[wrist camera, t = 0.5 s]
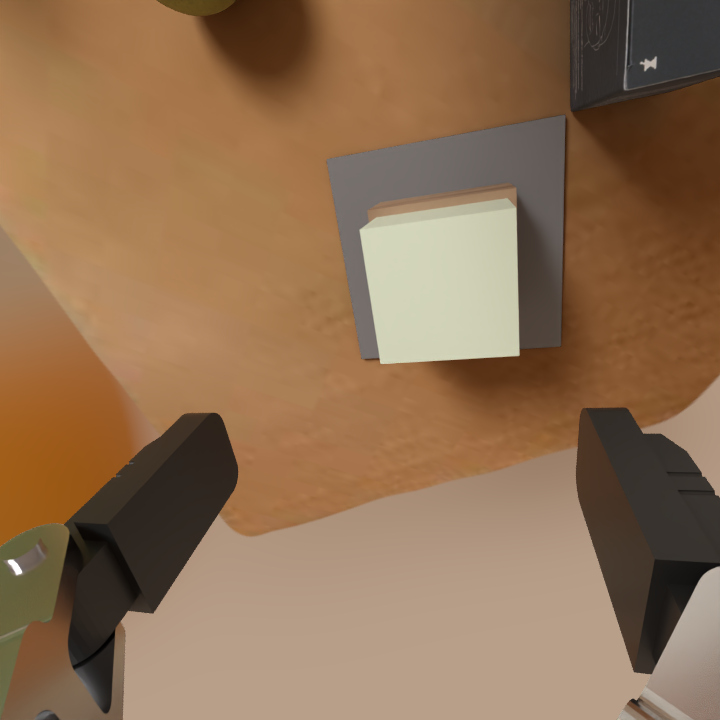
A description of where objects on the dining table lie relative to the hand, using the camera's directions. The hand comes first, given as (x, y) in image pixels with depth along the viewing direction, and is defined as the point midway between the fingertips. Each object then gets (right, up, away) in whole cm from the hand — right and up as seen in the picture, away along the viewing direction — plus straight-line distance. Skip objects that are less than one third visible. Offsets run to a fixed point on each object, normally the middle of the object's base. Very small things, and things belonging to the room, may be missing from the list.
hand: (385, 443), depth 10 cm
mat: (+6, +10, +24) cm, 26 cm away
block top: (+5, +8, +19) cm, 21 cm away
